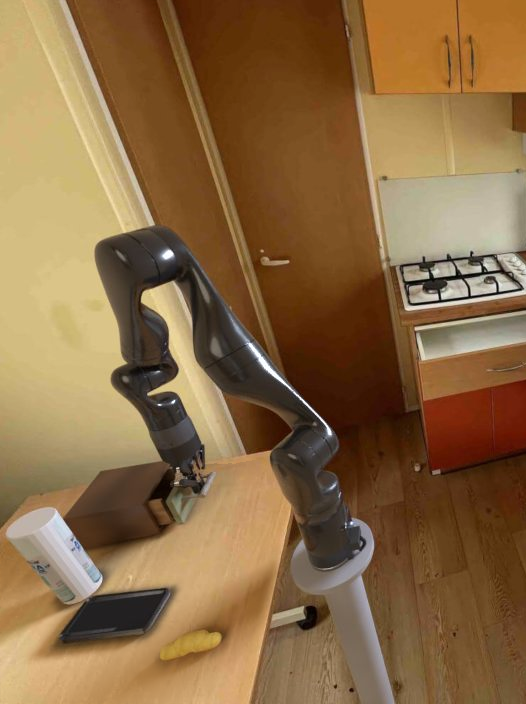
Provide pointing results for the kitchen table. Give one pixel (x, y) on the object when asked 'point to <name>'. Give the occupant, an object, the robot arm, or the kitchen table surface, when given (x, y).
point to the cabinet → (117, 505)
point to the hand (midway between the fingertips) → (201, 490)
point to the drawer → (174, 499)
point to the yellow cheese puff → (190, 644)
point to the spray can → (55, 554)
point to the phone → (115, 615)
